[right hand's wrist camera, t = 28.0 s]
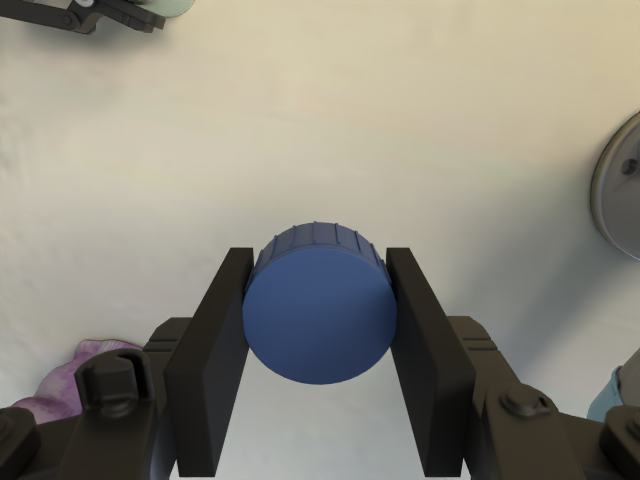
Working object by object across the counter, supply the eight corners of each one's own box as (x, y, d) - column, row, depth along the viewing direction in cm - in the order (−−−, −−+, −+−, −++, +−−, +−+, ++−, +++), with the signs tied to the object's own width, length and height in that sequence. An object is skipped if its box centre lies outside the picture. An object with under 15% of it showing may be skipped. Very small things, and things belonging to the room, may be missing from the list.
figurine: (50, 346, 44) (-78, 469, 30) (138, 321, 43) (49, 436, 29) (93, 414, 47) (-4, 555, 33) (176, 392, 46) (113, 527, 32)
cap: (265, 205, 14) (255, 228, 11) (405, 237, 14) (421, 266, 12) (240, 328, 15) (227, 369, 13) (366, 353, 16) (374, 398, 13)
